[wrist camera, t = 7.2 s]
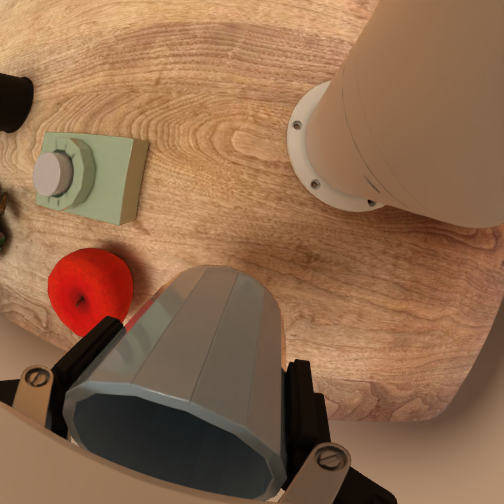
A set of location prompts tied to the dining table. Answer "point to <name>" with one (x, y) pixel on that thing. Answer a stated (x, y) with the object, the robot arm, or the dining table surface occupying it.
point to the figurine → (0, 208)
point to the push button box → (98, 175)
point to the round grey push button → (52, 173)
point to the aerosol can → (14, 101)
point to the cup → (192, 388)
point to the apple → (90, 289)
